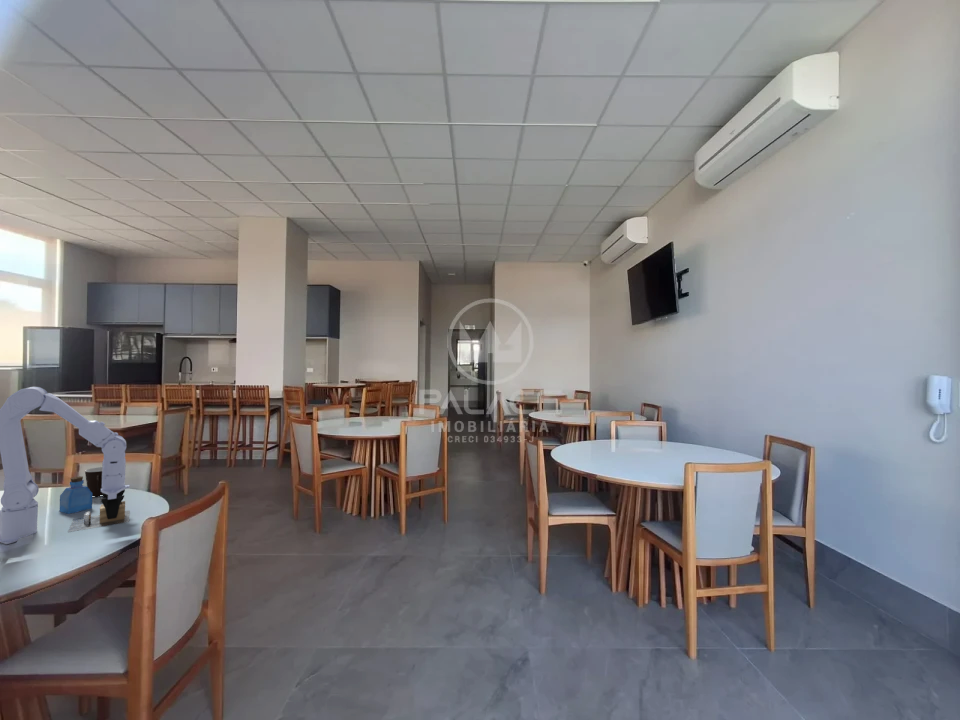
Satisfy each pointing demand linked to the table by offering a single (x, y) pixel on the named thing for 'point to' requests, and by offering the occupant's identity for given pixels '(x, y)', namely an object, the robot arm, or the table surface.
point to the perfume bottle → (76, 497)
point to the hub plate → (94, 522)
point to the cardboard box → (120, 516)
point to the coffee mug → (94, 480)
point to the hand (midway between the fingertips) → (112, 515)
